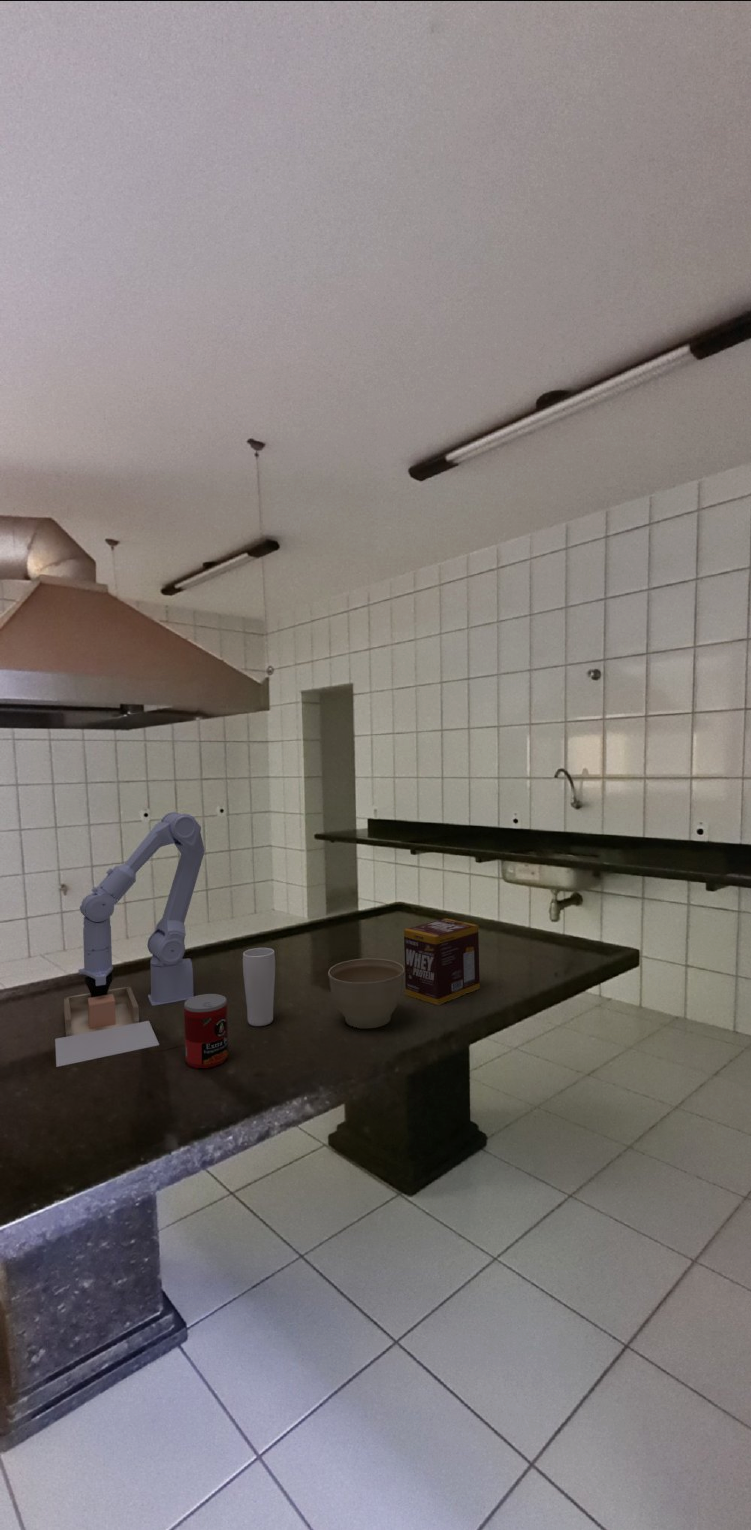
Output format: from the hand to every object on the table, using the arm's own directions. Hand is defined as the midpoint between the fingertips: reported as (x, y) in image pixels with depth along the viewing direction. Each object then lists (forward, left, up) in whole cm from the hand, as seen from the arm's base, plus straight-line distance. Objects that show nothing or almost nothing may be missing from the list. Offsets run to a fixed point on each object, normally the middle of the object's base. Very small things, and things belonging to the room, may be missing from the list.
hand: (99, 1008), depth 144 cm
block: (0, +7, -1) cm, 7 cm away
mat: (0, +18, -1) cm, 18 cm away
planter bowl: (-50, +34, -2) cm, 60 cm away
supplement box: (-73, +28, -2) cm, 78 cm away
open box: (0, +4, -1) cm, 4 cm away
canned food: (-16, +35, -2) cm, 39 cm away
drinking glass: (-30, +23, -2) cm, 38 cm away
